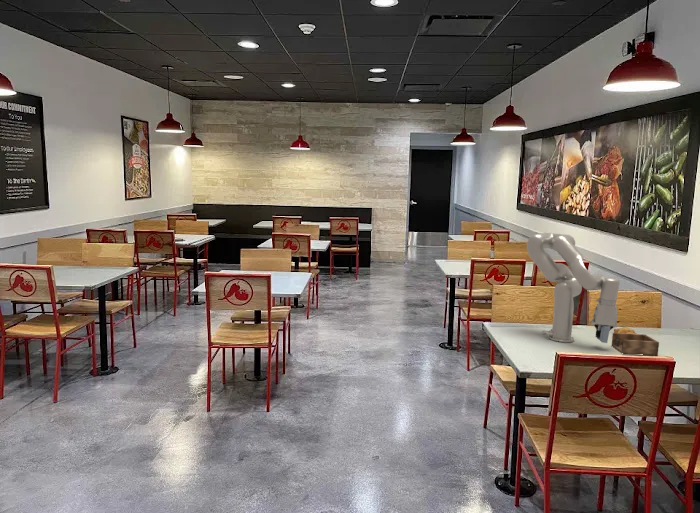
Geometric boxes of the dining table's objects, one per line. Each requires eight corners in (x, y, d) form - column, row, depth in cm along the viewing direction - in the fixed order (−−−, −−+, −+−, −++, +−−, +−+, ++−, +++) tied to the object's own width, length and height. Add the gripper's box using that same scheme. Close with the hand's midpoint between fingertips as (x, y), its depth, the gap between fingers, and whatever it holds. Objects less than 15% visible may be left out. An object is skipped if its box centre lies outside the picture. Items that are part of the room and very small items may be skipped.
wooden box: (623, 354, 252) (624, 340, 252) (611, 345, 266) (612, 332, 265) (657, 356, 251) (659, 342, 250) (643, 347, 265) (645, 334, 264)
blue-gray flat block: (601, 342, 256) (604, 326, 255) (594, 336, 265) (597, 321, 264) (607, 343, 256) (609, 327, 255) (600, 337, 265) (602, 322, 264)
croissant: (642, 351, 270) (651, 338, 270) (628, 343, 269) (636, 329, 268) (618, 339, 291) (625, 327, 291) (604, 331, 290) (611, 319, 289)
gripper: (593, 302, 254) (587, 338, 257) (627, 306, 253) (621, 342, 256) (587, 298, 262) (582, 333, 265) (621, 302, 260) (614, 337, 263)
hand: (601, 337), depth 260 cm, fingers closed on blue-gray flat block, 2 cm apart
